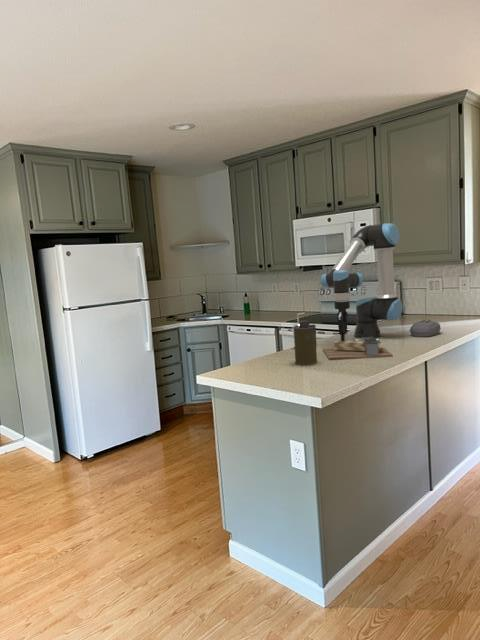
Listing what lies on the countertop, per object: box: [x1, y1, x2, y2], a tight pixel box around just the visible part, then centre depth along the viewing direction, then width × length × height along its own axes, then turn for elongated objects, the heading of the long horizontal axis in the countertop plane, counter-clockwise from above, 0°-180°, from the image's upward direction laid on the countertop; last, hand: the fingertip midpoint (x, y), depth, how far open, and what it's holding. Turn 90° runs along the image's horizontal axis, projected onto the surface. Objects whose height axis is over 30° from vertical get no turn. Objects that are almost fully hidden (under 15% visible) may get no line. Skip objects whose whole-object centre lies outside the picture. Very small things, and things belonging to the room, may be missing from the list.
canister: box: [292, 320, 318, 366], centre depth 226 cm, size 11×10×20 cm
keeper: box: [360, 337, 379, 356], centre depth 234 cm, size 12×6×7 cm, turn 178°
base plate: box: [322, 347, 394, 361], centre depth 240 cm, size 24×30×1 cm
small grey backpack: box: [409, 319, 441, 338], centre depth 279 cm, size 15×8×20 cm
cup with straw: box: [290, 312, 307, 336], centre depth 263 cm, size 8×9×20 cm
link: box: [333, 340, 384, 352], centre depth 241 cm, size 24×5×4 cm, turn 59°
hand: (343, 346), depth 247 cm, fingers closed
